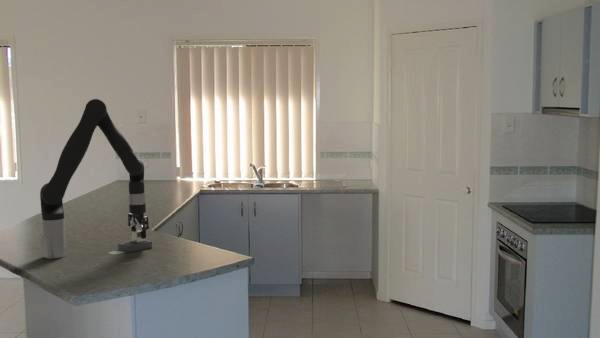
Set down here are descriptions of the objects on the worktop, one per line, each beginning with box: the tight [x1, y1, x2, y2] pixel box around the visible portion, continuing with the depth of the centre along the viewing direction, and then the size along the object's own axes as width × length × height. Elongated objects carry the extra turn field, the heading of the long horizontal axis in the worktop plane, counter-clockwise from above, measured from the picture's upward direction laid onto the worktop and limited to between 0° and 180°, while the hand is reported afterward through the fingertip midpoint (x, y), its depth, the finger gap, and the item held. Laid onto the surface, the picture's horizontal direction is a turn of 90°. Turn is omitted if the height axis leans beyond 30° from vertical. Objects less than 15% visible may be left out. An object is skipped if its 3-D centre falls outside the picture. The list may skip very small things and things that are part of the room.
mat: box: [106, 249, 127, 256], centre depth 296 cm, size 6×6×1 cm
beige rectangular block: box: [131, 229, 147, 244], centre depth 304 cm, size 4×4×8 cm
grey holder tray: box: [117, 239, 153, 253], centre depth 303 cm, size 13×8×4 cm, turn 134°
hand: (138, 237), depth 304 cm, fingers open, 8 cm apart
